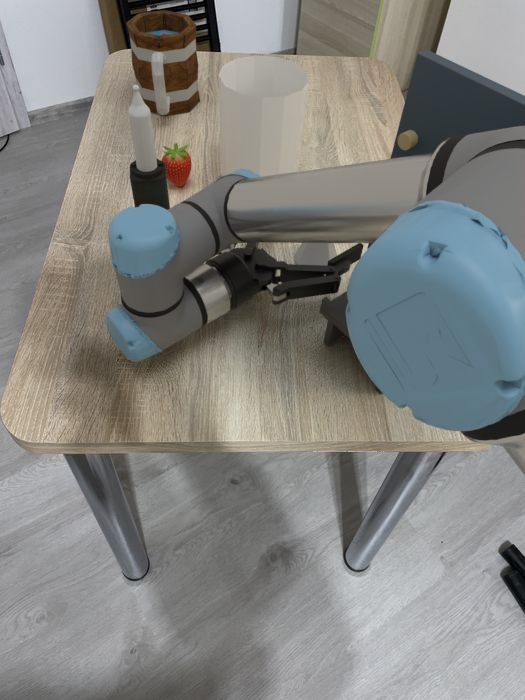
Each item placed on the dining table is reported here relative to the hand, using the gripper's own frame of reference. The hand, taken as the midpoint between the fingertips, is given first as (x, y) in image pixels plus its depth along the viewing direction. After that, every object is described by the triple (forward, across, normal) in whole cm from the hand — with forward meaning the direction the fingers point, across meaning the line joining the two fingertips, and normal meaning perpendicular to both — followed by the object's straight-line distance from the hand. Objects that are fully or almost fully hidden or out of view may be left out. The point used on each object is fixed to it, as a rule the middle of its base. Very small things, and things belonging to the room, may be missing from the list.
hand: (328, 226), depth 82 cm
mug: (+6, -54, -6) cm, 55 cm away
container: (+6, -24, -6) cm, 25 cm away
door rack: (-8, +19, -6) cm, 21 cm away
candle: (-19, -20, -6) cm, 28 cm away
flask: (-2, 0, -6) cm, 6 cm away
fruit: (-8, -30, -6) cm, 31 cm away
